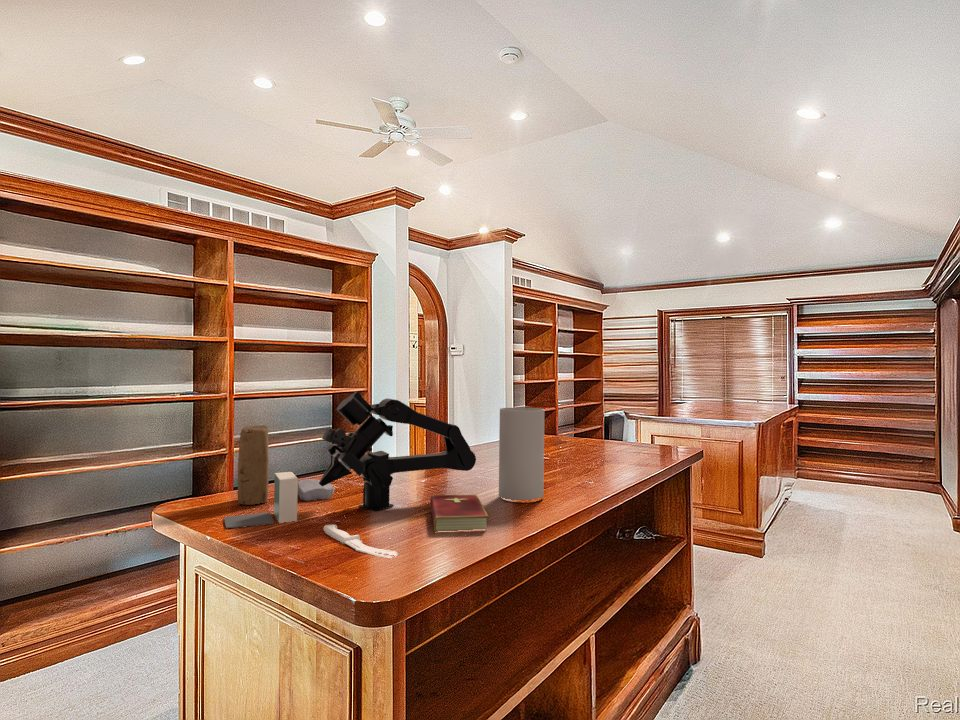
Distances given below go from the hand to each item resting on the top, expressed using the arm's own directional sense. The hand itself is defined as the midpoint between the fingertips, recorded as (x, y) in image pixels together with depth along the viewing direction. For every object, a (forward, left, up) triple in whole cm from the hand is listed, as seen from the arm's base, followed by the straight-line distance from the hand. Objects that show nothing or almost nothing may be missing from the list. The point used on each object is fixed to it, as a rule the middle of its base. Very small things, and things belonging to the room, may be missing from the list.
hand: (320, 484), depth 134 cm
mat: (+7, +14, -7) cm, 18 cm away
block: (+24, +3, -7) cm, 25 cm away
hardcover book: (-30, -17, -8) cm, 35 cm away
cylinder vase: (-30, -45, -7) cm, 55 cm away
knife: (-28, +9, -8) cm, 31 cm away
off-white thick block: (+4, +7, -7) cm, 11 cm away
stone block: (+16, -12, -8) cm, 21 cm away
